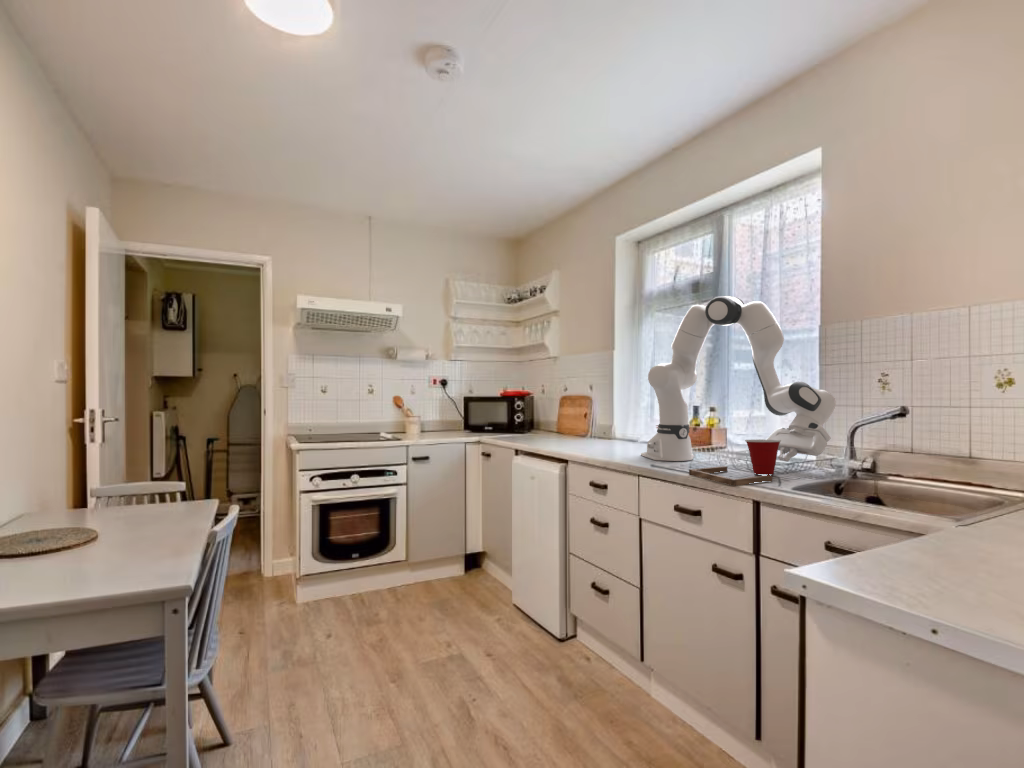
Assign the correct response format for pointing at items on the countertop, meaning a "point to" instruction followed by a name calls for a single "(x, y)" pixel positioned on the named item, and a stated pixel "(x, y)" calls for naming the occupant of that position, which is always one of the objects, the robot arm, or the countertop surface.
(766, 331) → the robot arm
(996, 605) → the countertop surface
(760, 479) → the tray
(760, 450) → the plastic cup
